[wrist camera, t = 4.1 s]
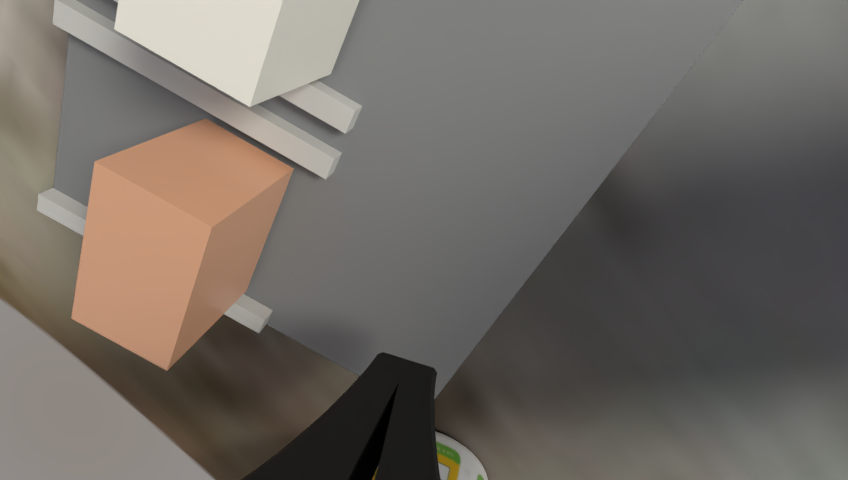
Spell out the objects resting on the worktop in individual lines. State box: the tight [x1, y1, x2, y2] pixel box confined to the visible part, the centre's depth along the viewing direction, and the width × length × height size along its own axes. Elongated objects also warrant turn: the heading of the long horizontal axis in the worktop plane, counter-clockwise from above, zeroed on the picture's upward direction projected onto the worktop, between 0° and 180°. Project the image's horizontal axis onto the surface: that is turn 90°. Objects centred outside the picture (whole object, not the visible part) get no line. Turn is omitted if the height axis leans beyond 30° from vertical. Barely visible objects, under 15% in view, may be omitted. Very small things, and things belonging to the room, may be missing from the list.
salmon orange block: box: [71, 119, 294, 371], centre depth 12 cm, size 2×4×4 cm, turn 153°
